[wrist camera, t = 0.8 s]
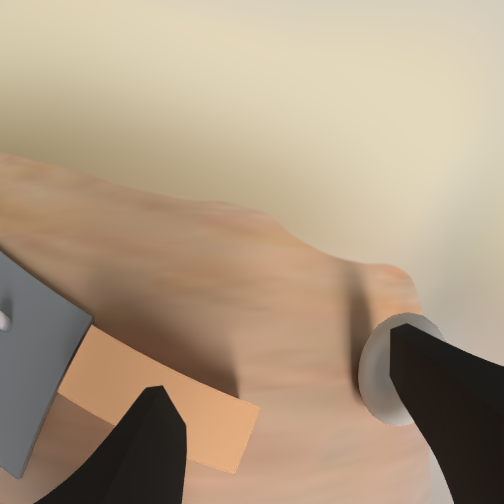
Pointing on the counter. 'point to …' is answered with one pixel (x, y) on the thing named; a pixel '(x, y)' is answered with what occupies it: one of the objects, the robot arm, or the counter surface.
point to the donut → (386, 370)
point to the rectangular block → (176, 385)
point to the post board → (31, 358)
